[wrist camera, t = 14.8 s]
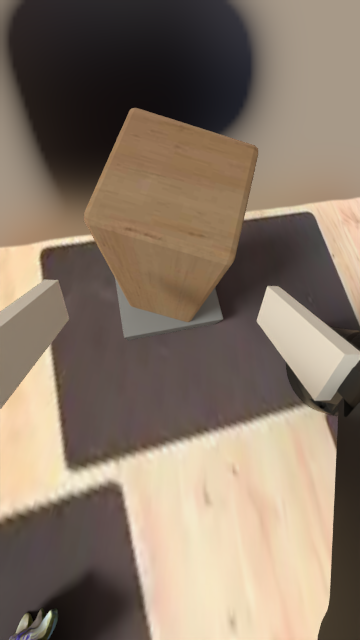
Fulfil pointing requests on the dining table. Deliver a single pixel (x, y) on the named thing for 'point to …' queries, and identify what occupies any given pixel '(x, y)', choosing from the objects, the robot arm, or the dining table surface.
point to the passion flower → (36, 626)
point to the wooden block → (170, 211)
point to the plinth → (164, 318)
